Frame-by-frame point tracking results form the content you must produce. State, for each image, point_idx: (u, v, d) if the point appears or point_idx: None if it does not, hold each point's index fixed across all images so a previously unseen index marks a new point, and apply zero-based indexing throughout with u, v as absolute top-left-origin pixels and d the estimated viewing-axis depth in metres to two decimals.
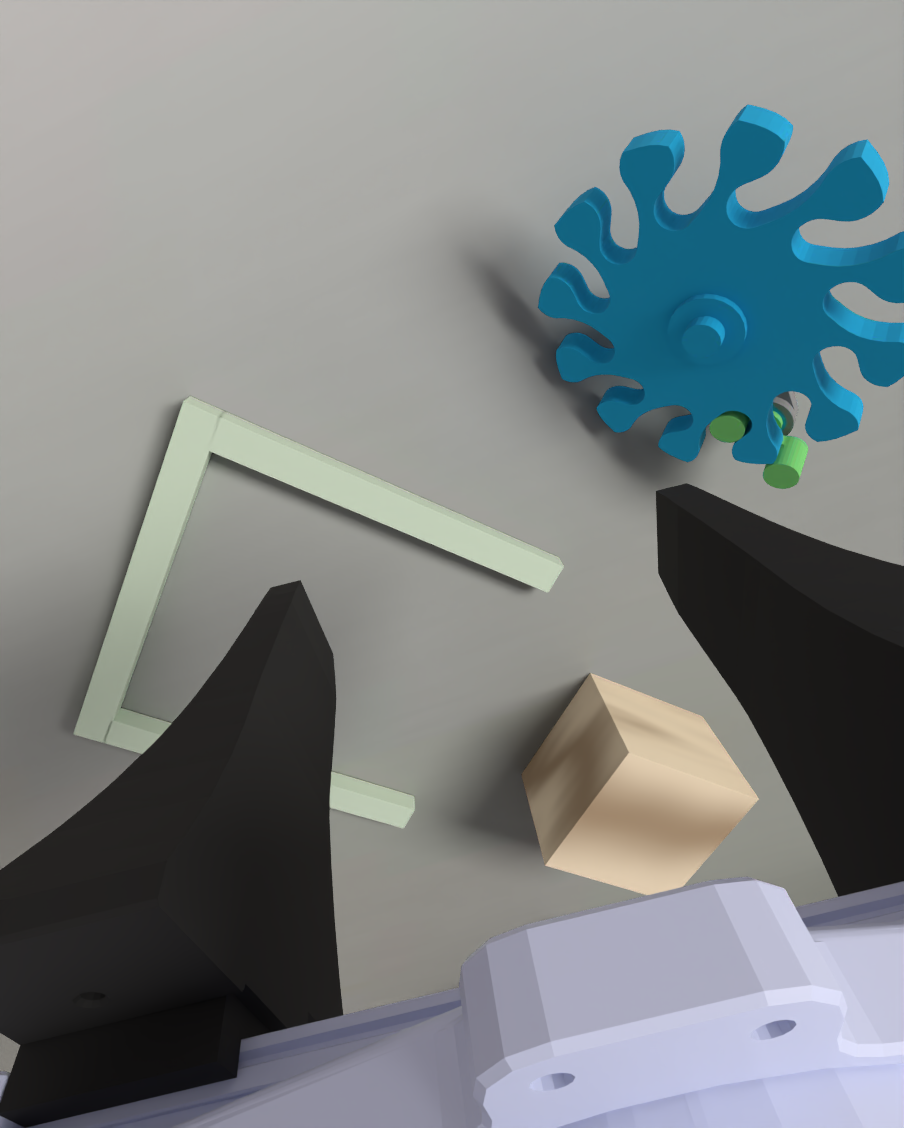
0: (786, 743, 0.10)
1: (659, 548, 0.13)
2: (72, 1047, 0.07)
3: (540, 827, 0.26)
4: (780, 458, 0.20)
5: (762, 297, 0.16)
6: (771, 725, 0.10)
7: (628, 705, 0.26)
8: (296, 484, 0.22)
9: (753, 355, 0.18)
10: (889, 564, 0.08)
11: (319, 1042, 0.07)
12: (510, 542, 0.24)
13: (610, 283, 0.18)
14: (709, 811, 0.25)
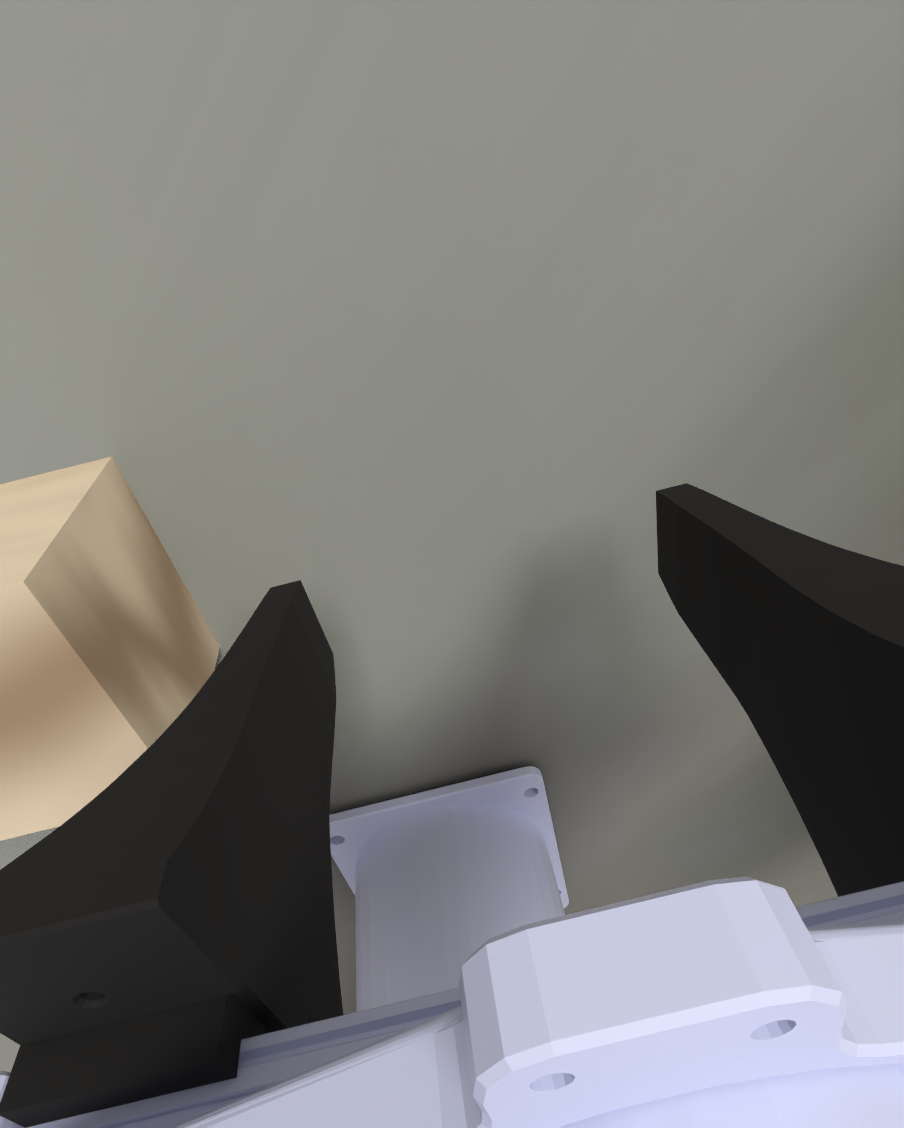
0: (786, 743, 0.10)
1: (659, 548, 0.13)
2: (72, 1047, 0.07)
3: None
4: None
5: None
6: (771, 725, 0.10)
7: None
8: None
9: None
10: (889, 564, 0.08)
11: (319, 1042, 0.07)
12: None
13: None
14: None
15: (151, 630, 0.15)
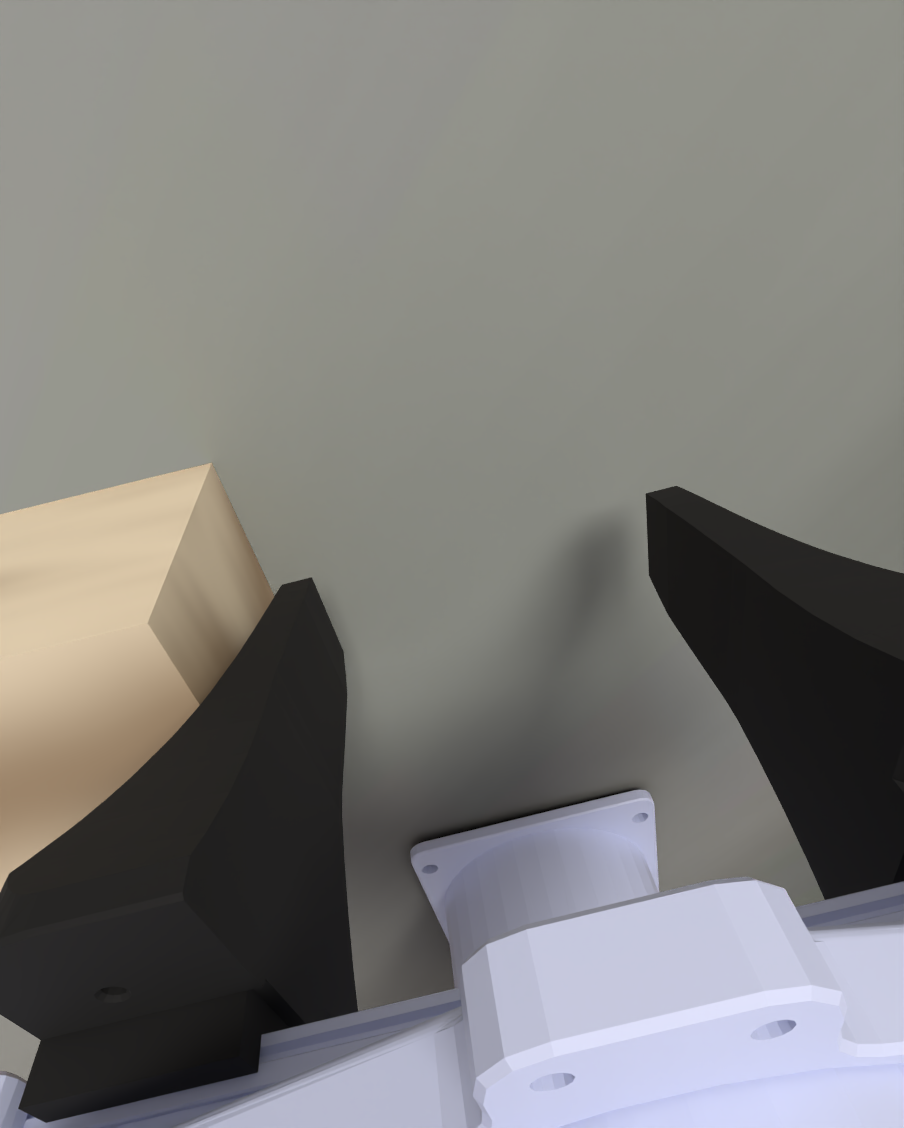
0: (773, 746, 0.10)
1: (649, 551, 0.13)
2: (93, 1042, 0.07)
3: None
4: None
5: None
6: (759, 728, 0.10)
7: None
8: None
9: None
10: (874, 568, 0.08)
11: (319, 1042, 0.07)
12: None
13: None
14: (92, 707, 0.10)
15: None
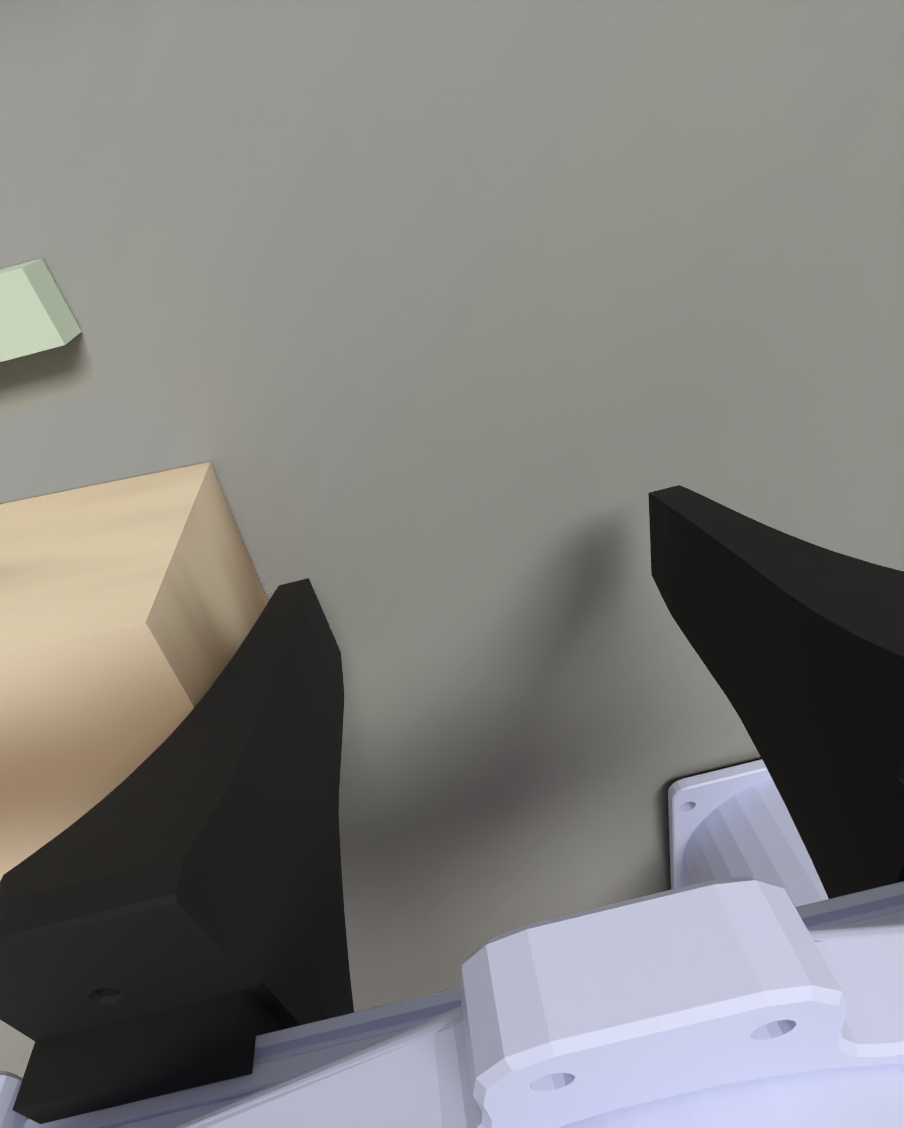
0: (777, 745, 0.10)
1: (652, 550, 0.13)
2: (87, 1043, 0.07)
3: None
4: None
5: None
6: (762, 727, 0.10)
7: None
8: None
9: None
10: (878, 567, 0.08)
11: (319, 1042, 0.07)
12: None
13: None
14: (84, 705, 0.10)
15: None
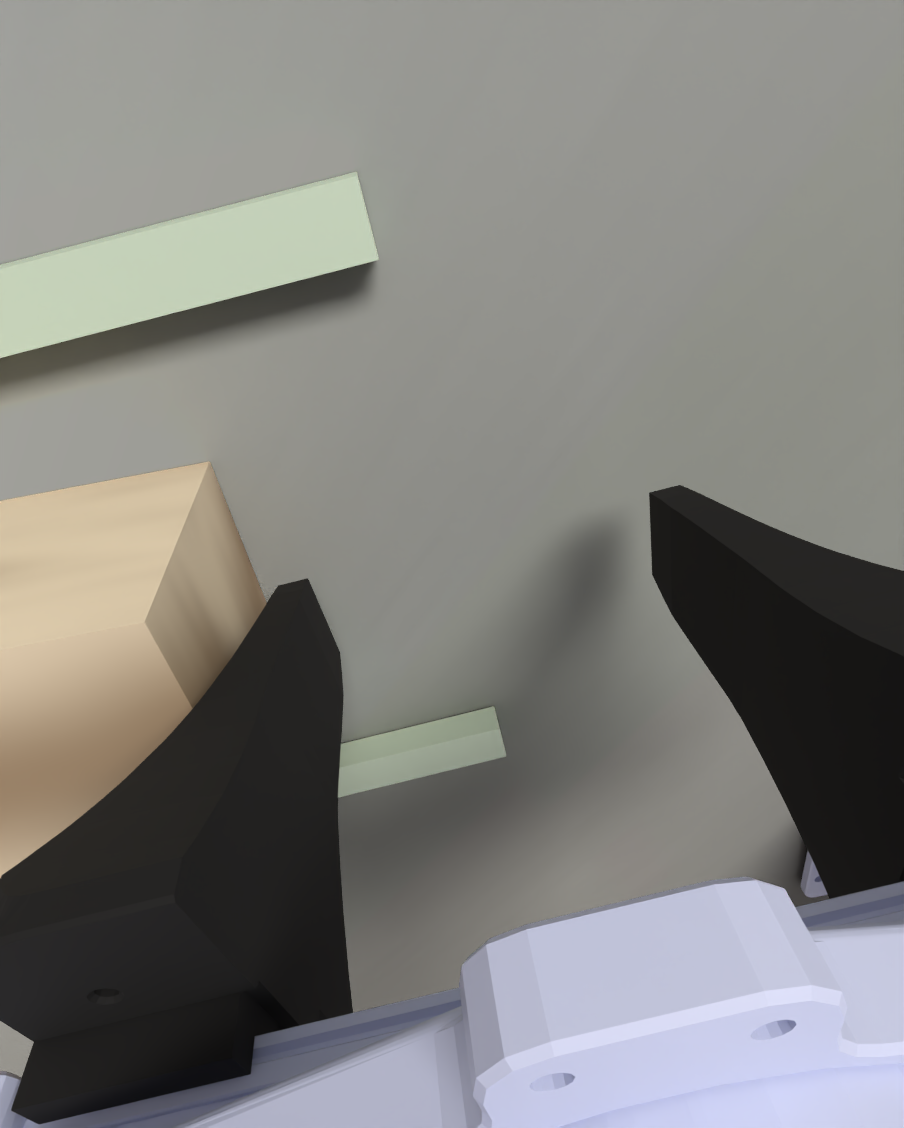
0: (778, 745, 0.10)
1: (653, 550, 0.13)
2: (86, 1043, 0.07)
3: None
4: None
5: None
6: (763, 727, 0.10)
7: None
8: None
9: None
10: (879, 567, 0.08)
11: (319, 1042, 0.07)
12: (213, 212, 0.10)
13: None
14: (81, 704, 0.10)
15: None
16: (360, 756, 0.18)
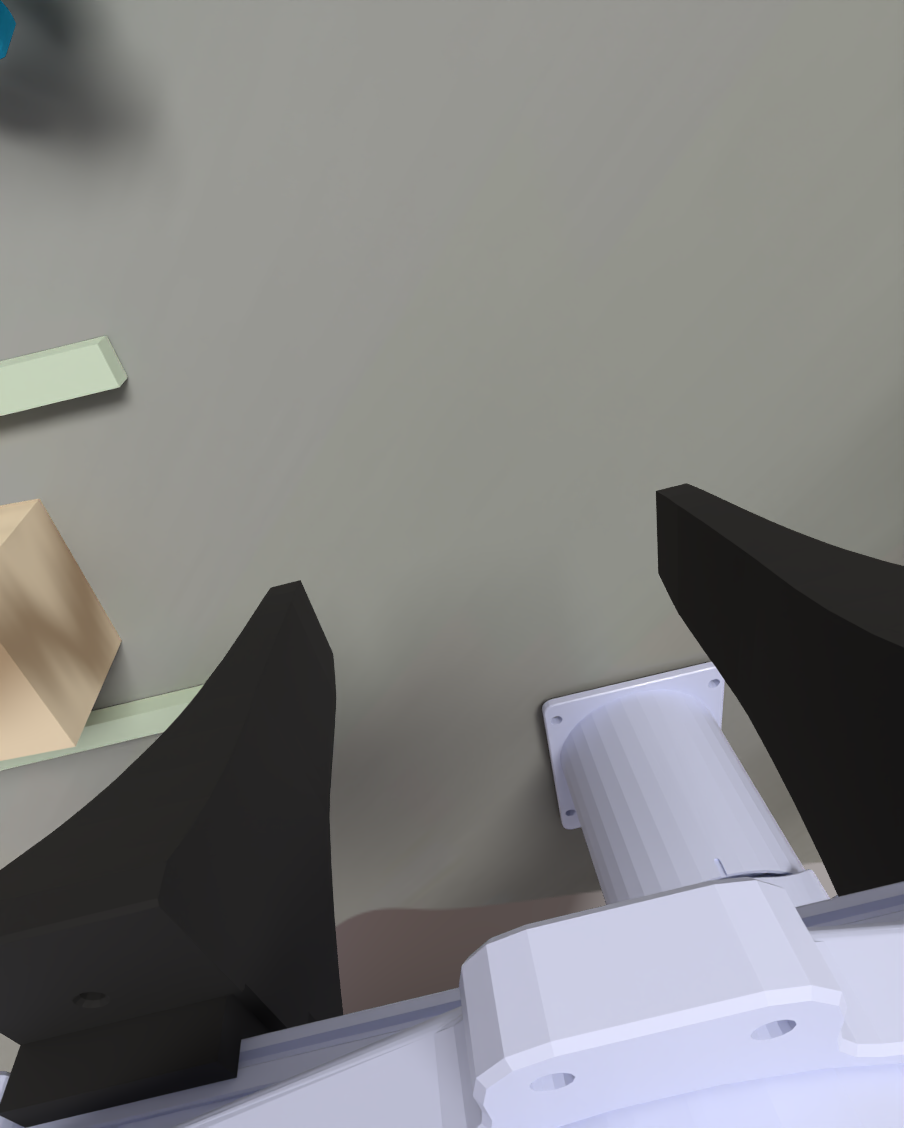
0: (786, 743, 0.10)
1: (659, 548, 0.13)
2: (72, 1047, 0.07)
3: None
4: None
5: None
6: (771, 725, 0.10)
7: None
8: None
9: None
10: (889, 564, 0.08)
11: (319, 1042, 0.07)
12: (15, 362, 0.17)
13: None
14: None
15: (61, 625, 0.20)
16: (175, 701, 0.25)
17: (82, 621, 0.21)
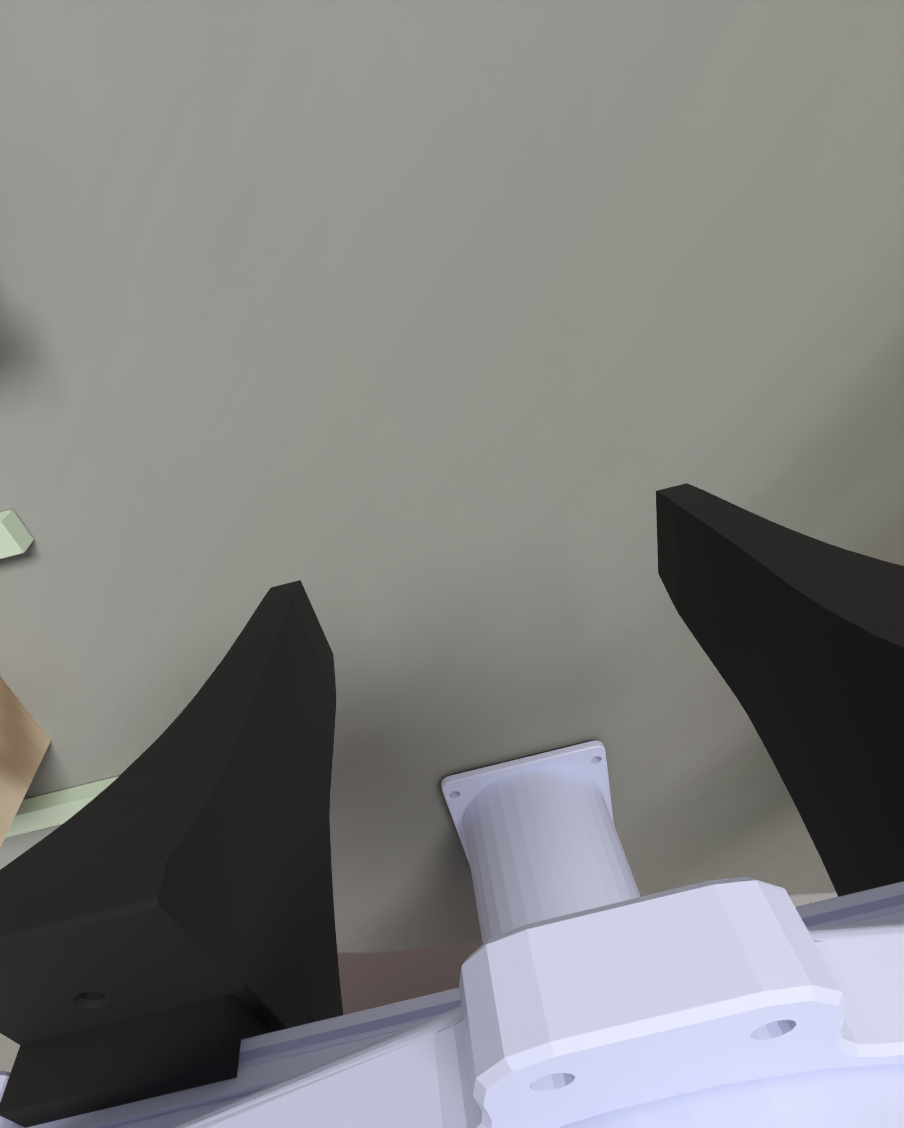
0: (786, 743, 0.10)
1: (659, 548, 0.13)
2: (72, 1047, 0.07)
3: None
4: None
5: None
6: (771, 725, 0.10)
7: None
8: None
9: None
10: (889, 564, 0.08)
11: (319, 1042, 0.07)
12: None
13: None
14: None
15: None
16: (102, 790, 0.28)
17: (8, 733, 0.24)
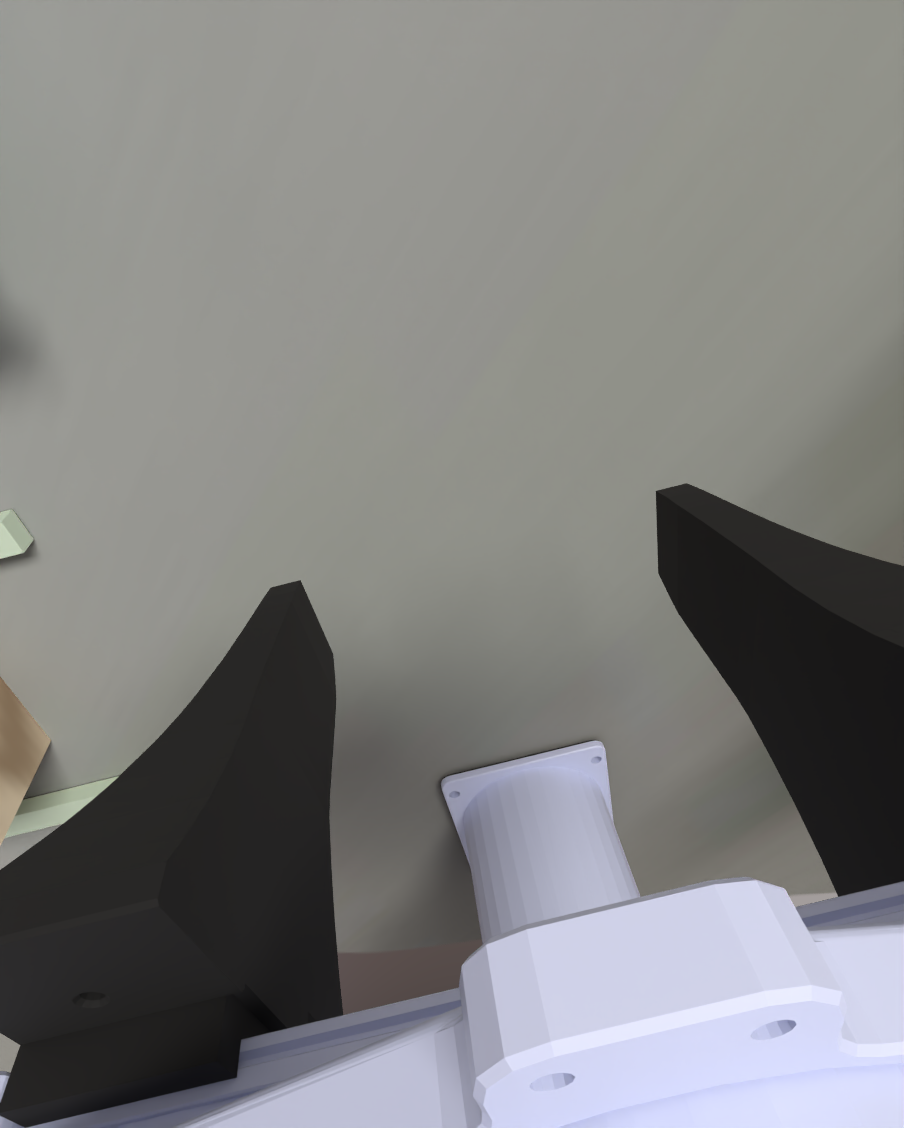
0: (786, 743, 0.10)
1: (659, 548, 0.13)
2: (72, 1047, 0.07)
3: None
4: None
5: None
6: (771, 725, 0.10)
7: None
8: None
9: None
10: (889, 564, 0.08)
11: (319, 1042, 0.07)
12: None
13: None
14: None
15: None
16: (102, 790, 0.28)
17: (8, 733, 0.24)
